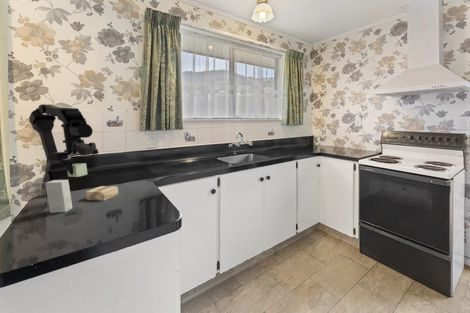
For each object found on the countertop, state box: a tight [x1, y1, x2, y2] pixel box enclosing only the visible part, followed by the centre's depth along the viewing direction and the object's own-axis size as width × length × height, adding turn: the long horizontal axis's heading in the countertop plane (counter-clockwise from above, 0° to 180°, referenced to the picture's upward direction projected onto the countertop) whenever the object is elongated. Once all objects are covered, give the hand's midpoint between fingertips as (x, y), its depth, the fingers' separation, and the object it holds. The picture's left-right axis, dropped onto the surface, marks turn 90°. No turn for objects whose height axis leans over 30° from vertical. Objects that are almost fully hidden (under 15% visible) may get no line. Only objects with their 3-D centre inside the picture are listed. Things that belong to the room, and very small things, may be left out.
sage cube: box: [67, 162, 88, 178], centre depth 99 cm, size 5×5×5 cm
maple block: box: [85, 185, 119, 202], centre depth 105 cm, size 9×9×4 cm
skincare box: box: [44, 180, 73, 214], centre depth 88 cm, size 6×4×12 cm
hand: (77, 173), depth 100 cm, fingers closed on sage cube, 5 cm apart
